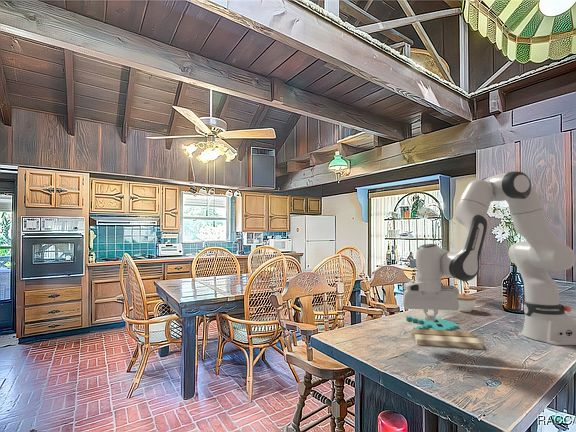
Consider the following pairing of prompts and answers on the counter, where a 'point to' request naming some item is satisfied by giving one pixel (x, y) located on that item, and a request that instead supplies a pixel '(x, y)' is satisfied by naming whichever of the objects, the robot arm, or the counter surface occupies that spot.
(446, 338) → the birch plank
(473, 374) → the counter surface
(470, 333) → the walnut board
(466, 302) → the lidded jar
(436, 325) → the alien figure
